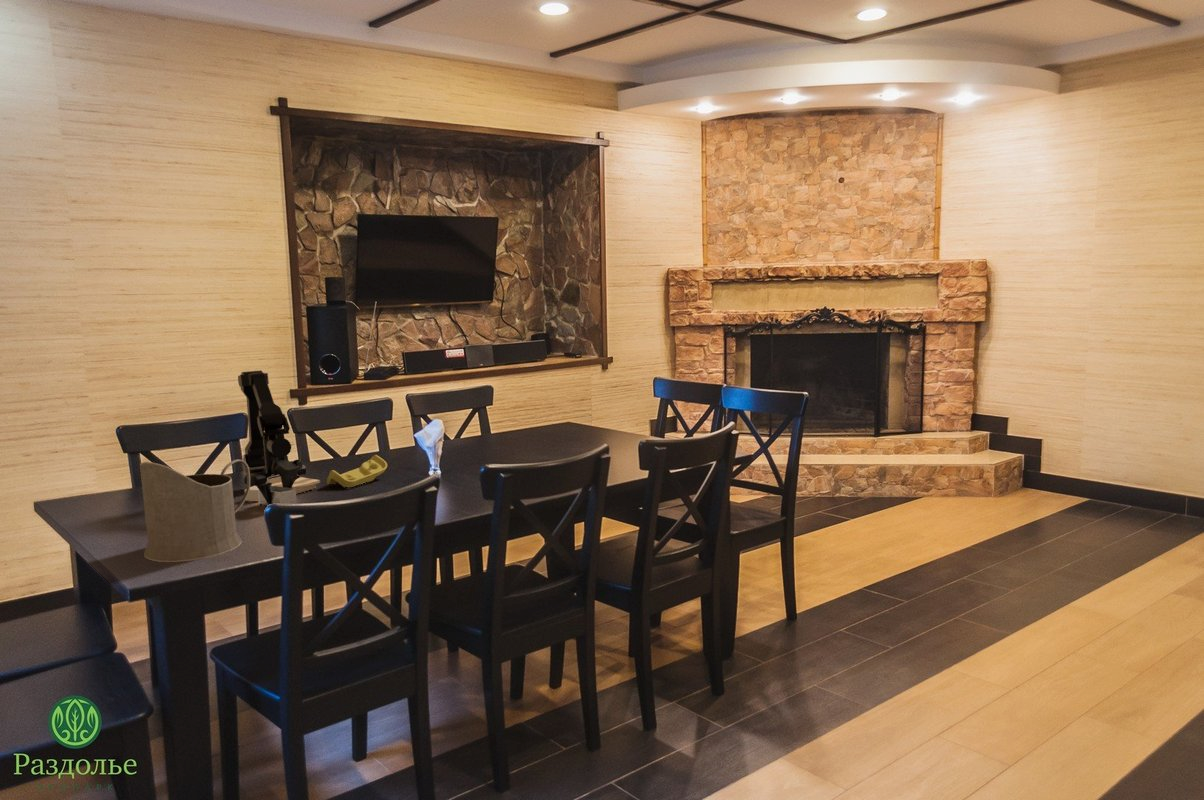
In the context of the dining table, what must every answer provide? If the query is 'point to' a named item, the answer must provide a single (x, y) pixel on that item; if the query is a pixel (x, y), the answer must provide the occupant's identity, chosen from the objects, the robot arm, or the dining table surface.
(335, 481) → the plastic component
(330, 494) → the dining table surface
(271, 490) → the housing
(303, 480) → the stand
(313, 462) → the dining table surface
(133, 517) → the dining table surface
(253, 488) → the parts box
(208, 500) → the pitcher
